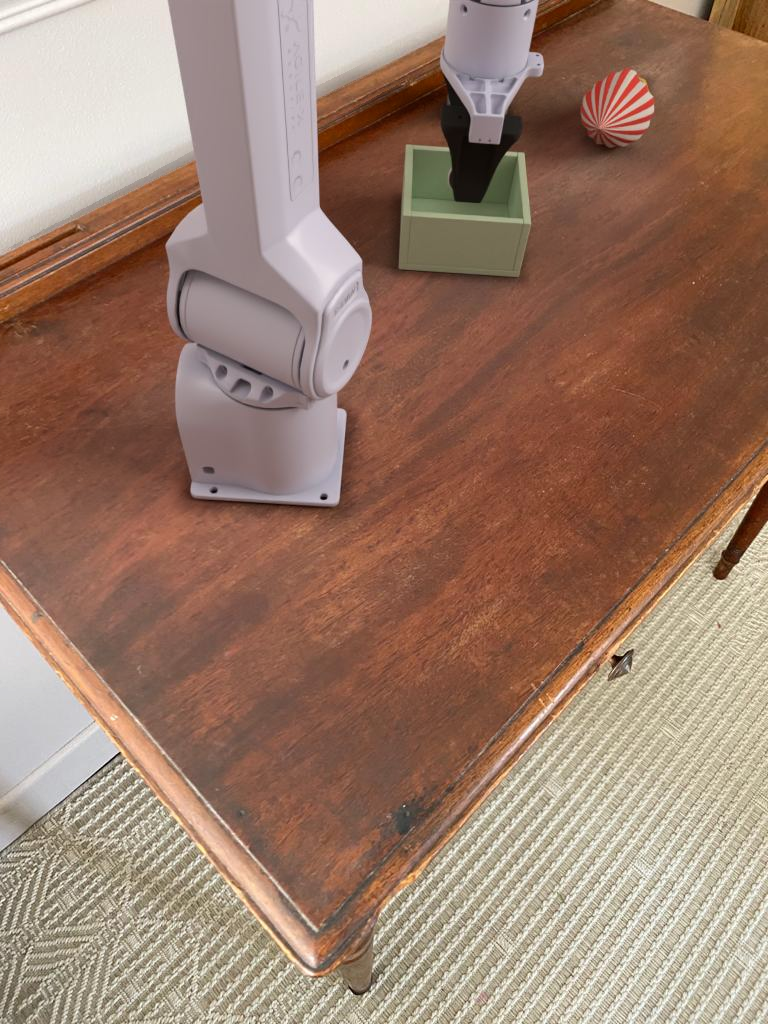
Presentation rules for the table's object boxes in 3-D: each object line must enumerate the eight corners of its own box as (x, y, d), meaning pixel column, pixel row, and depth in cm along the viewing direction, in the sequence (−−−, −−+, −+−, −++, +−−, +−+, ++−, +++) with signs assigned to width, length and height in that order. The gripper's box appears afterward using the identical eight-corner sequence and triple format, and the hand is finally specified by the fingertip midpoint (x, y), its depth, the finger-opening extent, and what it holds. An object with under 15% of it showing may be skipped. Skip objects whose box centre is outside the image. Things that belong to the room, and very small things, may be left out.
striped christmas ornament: (639, 127, 85) (593, 183, 71) (603, 77, 84) (549, 125, 70) (690, 84, 81) (652, 135, 67) (653, 31, 79) (606, 71, 65)
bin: (398, 269, 64) (403, 215, 60) (401, 198, 69) (405, 144, 65) (518, 277, 64) (531, 223, 60) (512, 206, 69) (524, 152, 65)
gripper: (568, 48, 47) (523, 240, 58) (550, -60, 55) (513, 127, 66) (448, 39, 47) (426, 234, 58) (447, -68, 55) (428, 121, 66)
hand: (467, 177), depth 62 cm, fingers closed on wristwatch, 5 cm apart
